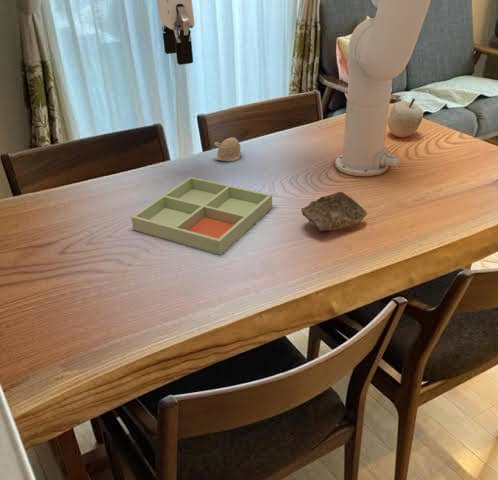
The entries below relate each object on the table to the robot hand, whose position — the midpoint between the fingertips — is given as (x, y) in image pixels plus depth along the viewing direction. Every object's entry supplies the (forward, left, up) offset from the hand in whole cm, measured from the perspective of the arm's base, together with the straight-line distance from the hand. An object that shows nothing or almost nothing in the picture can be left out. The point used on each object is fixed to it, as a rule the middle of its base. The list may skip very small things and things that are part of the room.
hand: (178, 58), depth 112 cm
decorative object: (-37, -47, -27) cm, 65 cm away
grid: (-14, +15, -27) cm, 34 cm away
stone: (-39, +6, -27) cm, 48 cm away
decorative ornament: (-2, -14, -27) cm, 30 cm away
